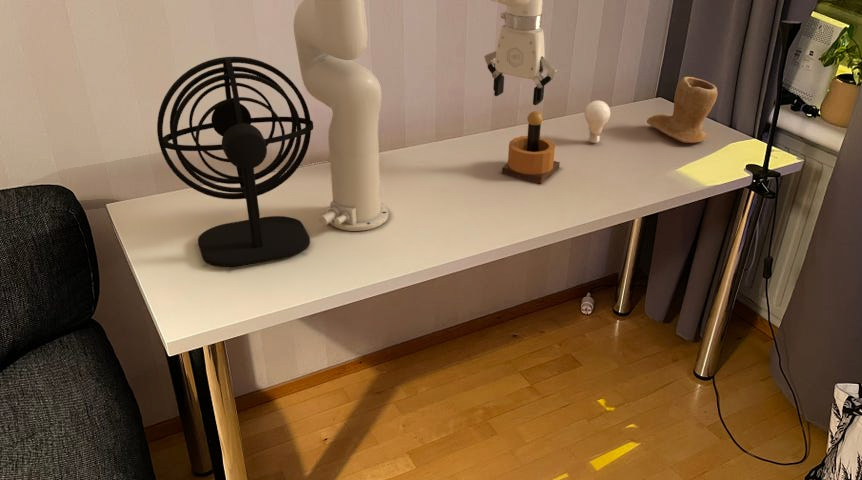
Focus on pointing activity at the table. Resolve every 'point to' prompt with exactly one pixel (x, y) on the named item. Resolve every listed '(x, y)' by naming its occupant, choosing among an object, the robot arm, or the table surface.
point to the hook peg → (534, 131)
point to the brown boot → (687, 111)
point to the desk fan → (240, 162)
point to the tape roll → (531, 156)
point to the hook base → (534, 178)
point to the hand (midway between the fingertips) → (517, 98)
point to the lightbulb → (596, 118)
